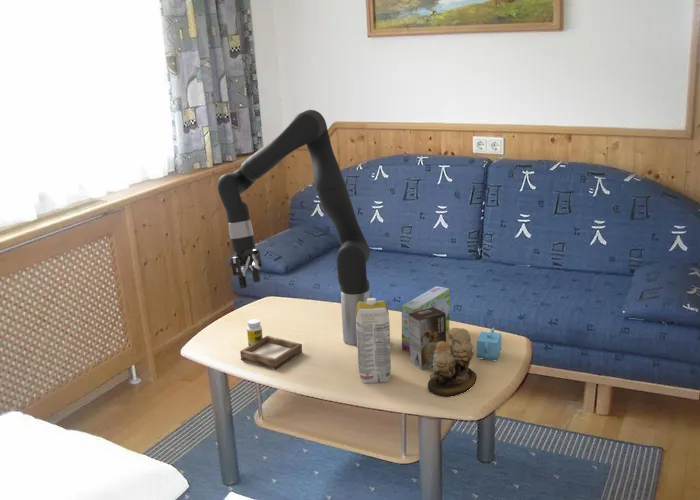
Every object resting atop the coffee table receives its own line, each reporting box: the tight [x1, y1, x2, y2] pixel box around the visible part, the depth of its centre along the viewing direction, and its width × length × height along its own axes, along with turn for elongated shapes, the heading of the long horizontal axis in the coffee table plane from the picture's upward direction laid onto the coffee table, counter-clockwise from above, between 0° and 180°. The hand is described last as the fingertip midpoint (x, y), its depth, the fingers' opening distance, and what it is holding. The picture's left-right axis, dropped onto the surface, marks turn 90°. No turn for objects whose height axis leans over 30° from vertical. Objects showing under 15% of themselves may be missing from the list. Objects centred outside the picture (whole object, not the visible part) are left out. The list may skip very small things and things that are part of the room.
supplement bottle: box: [246, 318, 264, 346], centre depth 234 cm, size 5×5×8 cm
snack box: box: [401, 285, 451, 353], centre depth 230 cm, size 21×6×15 cm, turn 143°
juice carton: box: [356, 297, 392, 384], centre depth 206 cm, size 9×8×24 cm
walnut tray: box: [239, 335, 303, 370], centre depth 226 cm, size 14×13×3 cm
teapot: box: [476, 327, 502, 361], centre depth 219 cm, size 12×6×8 cm, turn 159°
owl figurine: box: [427, 327, 478, 398], centre depth 202 cm, size 18×12×17 cm, turn 142°
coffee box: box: [409, 307, 447, 370], centre depth 215 cm, size 9×6×16 cm
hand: (250, 284), depth 233 cm, fingers open, 8 cm apart
